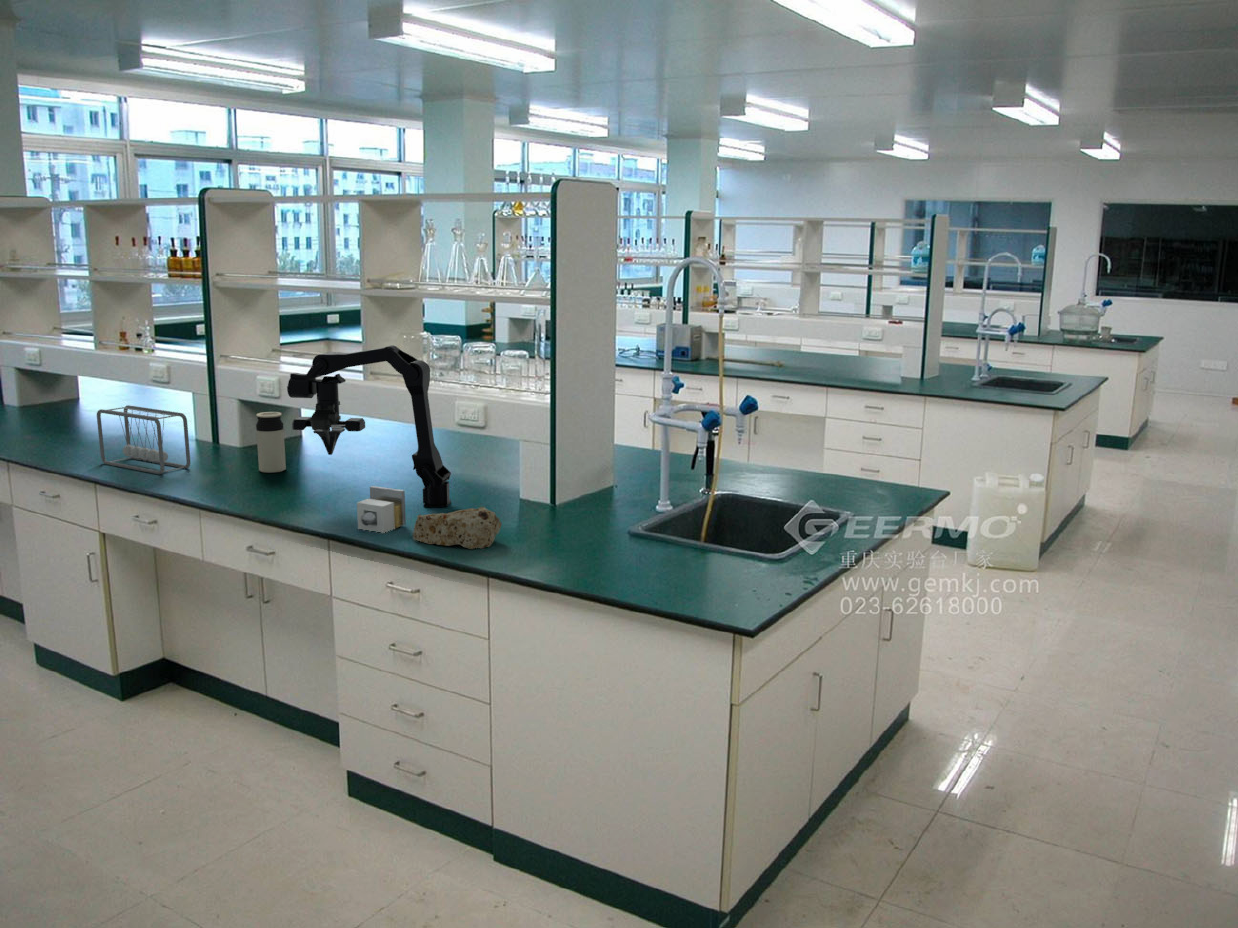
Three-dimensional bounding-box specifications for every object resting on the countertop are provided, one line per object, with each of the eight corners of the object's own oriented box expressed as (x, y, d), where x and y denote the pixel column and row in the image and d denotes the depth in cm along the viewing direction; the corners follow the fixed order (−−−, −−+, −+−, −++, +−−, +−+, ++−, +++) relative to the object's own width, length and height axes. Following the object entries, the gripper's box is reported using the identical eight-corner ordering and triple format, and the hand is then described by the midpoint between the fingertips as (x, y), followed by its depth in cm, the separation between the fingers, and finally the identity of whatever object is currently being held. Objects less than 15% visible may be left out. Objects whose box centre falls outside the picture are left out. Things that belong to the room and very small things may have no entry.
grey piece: (374, 519, 259) (372, 485, 257) (405, 524, 255) (404, 490, 253) (350, 528, 251) (348, 494, 249) (382, 533, 247) (381, 498, 245)
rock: (405, 548, 241) (406, 506, 242) (438, 545, 255) (438, 506, 255) (479, 550, 233) (480, 507, 234) (509, 547, 247) (509, 507, 247)
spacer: (372, 521, 258) (371, 500, 257) (401, 526, 254) (400, 504, 253) (367, 523, 256) (366, 502, 255) (396, 528, 253) (395, 506, 251)
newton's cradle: (191, 469, 313) (187, 413, 309) (162, 475, 304) (157, 418, 300) (130, 457, 327) (125, 404, 323) (100, 463, 318) (95, 408, 314)
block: (369, 524, 256) (368, 498, 255) (394, 528, 253) (393, 502, 251) (358, 529, 252) (356, 502, 251) (383, 533, 249) (382, 506, 247)
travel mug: (291, 469, 314) (288, 413, 310) (270, 474, 307) (266, 417, 303) (274, 466, 318) (271, 410, 314) (253, 471, 312) (249, 414, 308)
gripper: (283, 402, 266) (286, 460, 269) (352, 404, 265) (354, 461, 268) (298, 396, 276) (301, 451, 280) (364, 398, 276) (367, 453, 279)
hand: (330, 454), depth 276 cm, fingers closed
